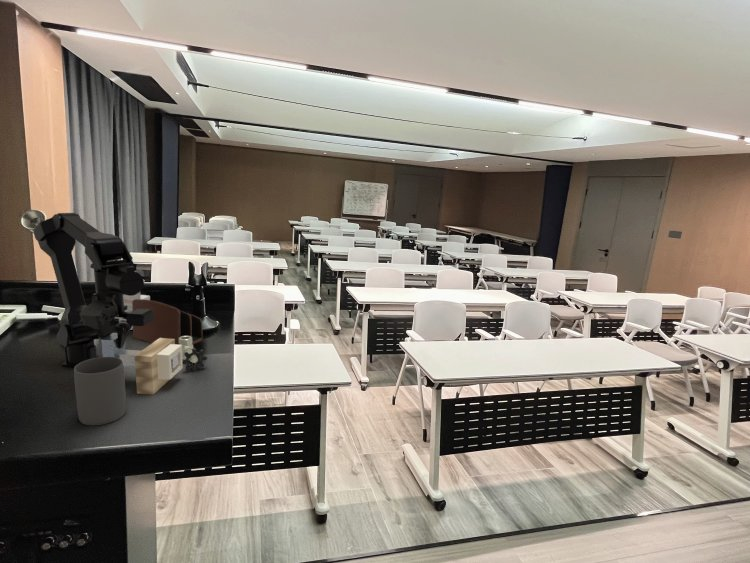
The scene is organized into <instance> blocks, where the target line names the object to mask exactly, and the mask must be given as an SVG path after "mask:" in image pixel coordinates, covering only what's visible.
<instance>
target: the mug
mask: <svg viewBox="0 0 750 563" xmlns="http://www.w3.org/2000/svg"><path fill="white" fill-rule="evenodd" d="M73 379H74V388H75V389H74V390H75V391H74V392H75V399H76V409H77V415H78V419H79V421H80V423H81V424H83V425H85V426H101V425H106V424H109V423H112V422H115V421H117V420H119V419H120V418H122V417H123V416H125V413H126V412H127V397H126V396H127V394H126V393H127V392H126V382H125V379H126V378H125V368H124V367H123V362H122V360H121V359H119V358H116V357H103V356H101V357H100V356H99V357H98V358H93V359H89V360H86V361H83V362H81V363H79V364H77V365H76V366H74V368H73Z"/></svg>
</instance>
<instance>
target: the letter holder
mask: <svg viewBox="0 0 750 563" xmlns="http://www.w3.org/2000/svg"><path fill="white" fill-rule="evenodd" d="M132 307H133V311H134V310H136V309H151V310H152V311H153V313H154V320H152V321H151V322H149V323H147V324H146V325H144V326H133V331H132V338H133V339H134V338H135V340H138V339H139V340H138V341H142V342H146V343H150V344H152V343H153V342H155V341H156V340H157V339H159V338H168V339H175V344H177V345H179V337H181V336H191V337H192V344H193V346H194V345H196V344H199V343H200V342H203V341H204V339H203V338H204V336H203V334H204V333H203V320H202V319H201V318H200V317H198V316H197V315H195V314H191V313H188V312H185V311H182V310H180V309H179V308H177V307H175V306H173V305H170V304H168V303H167V304H166V303H164V302H160V301H157V300H151V299H150V300H143V299H135V300H133V302H132Z"/></svg>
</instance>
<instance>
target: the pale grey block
mask: <svg viewBox="0 0 750 563" xmlns="http://www.w3.org/2000/svg"><path fill="white" fill-rule="evenodd" d="M100 341H101V354H102V357H116V358H119V359H121V360H122V362H123V367H124V369H125V368H127V367H135V355H136V354H137V353H139V352H140V351H141V350H137V349H136V350H135V349H127V344H126V343H127V342H126V341H127V340H126V341H125V343H124V345H123V347H122V348H121V349H119V346H118V336H117V332H112V333H110V335H109V336H107V337H105V338H103V339H100ZM177 365H178V354H177V355H176V356H175V357H173V358H172V359H171V369H173V368H174V367H176V366H177Z"/></svg>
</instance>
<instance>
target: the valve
mask: <svg viewBox="0 0 750 563" xmlns="http://www.w3.org/2000/svg"><path fill="white" fill-rule="evenodd" d="M179 345H182V365H185V366H184V369H185V370H186V371H189V370H190V369H191V370H192V371H193V372H197V371H198V367H200V368H204V367H205V363H203V362H204V361H207V360H208V357H207V356H206V355H204V353H205V351H204V350H203V349H199V351H198V350H197V349H196V348H195V347H194V345H193V344H192V337H191V336H181V337H179ZM198 357H200V359H199V362H198ZM189 361H190V362H189ZM197 362H198V363H197ZM190 363H191V364H190Z"/></svg>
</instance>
